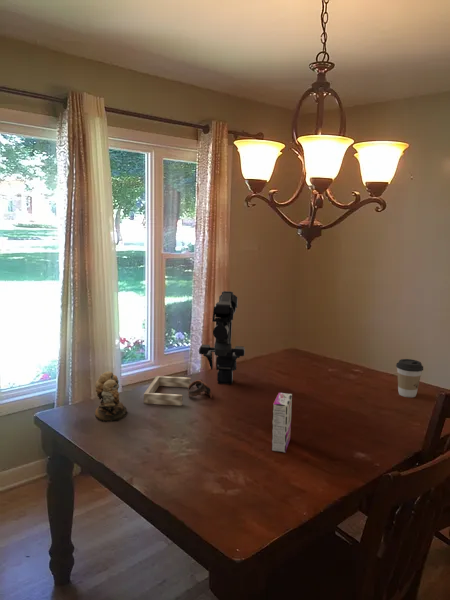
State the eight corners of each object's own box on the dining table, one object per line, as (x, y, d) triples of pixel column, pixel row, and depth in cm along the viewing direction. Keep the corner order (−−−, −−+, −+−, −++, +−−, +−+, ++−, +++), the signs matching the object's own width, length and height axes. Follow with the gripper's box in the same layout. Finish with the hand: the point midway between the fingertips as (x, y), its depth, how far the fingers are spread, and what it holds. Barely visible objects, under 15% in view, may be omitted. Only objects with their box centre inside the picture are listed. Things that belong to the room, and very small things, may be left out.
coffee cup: (416, 401, 208) (419, 367, 205) (390, 395, 214) (392, 362, 212) (424, 394, 217) (427, 361, 214) (398, 388, 223) (401, 356, 221)
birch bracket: (190, 386, 219) (190, 377, 218) (181, 405, 196) (181, 395, 196) (156, 384, 220) (156, 375, 220) (143, 403, 198) (143, 393, 197)
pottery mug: (214, 401, 203) (206, 387, 199) (193, 410, 204) (185, 396, 200) (211, 385, 214) (204, 371, 210) (192, 393, 214) (184, 379, 211)
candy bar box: (276, 436, 170) (278, 391, 168) (290, 438, 169) (292, 393, 166) (270, 451, 160) (272, 403, 157) (285, 453, 158) (288, 405, 156)
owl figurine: (128, 422, 179) (127, 378, 176) (95, 425, 176) (93, 380, 173) (125, 404, 196) (124, 363, 193) (95, 406, 193) (94, 365, 190)
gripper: (197, 337, 195) (196, 374, 197) (243, 339, 193) (242, 377, 196) (201, 331, 206) (200, 366, 208) (245, 333, 204) (244, 369, 207)
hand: (221, 370), depth 204 cm, fingers open, 8 cm apart
